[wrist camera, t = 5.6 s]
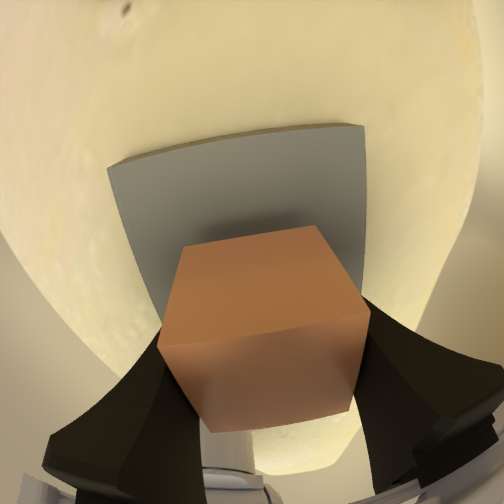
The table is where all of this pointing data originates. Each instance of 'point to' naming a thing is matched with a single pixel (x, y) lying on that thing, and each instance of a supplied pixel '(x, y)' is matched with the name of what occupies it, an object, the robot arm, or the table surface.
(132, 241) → the grey square plate
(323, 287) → the terracotta cube
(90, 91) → the table surface
